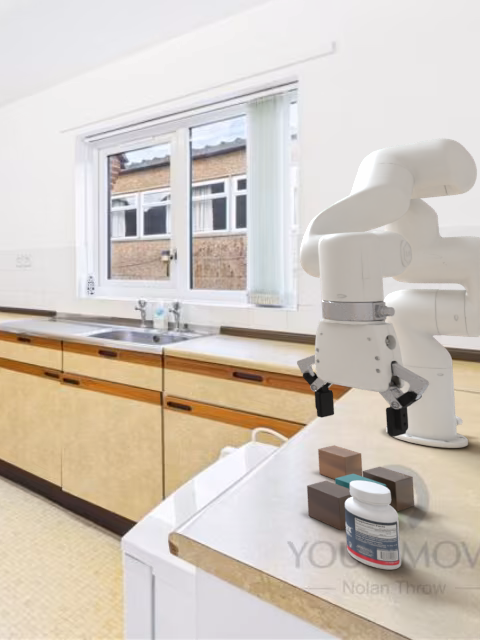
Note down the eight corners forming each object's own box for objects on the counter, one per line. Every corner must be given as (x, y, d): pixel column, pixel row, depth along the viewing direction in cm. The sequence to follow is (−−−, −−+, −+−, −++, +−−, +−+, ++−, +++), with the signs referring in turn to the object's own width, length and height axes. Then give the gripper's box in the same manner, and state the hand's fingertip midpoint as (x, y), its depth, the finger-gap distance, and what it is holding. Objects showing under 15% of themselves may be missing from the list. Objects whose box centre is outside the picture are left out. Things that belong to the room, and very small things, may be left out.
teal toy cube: (354, 501, 75) (353, 473, 75) (387, 514, 71) (386, 484, 71) (336, 507, 73) (334, 478, 73) (369, 520, 69) (367, 489, 69)
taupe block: (381, 494, 77) (379, 466, 77) (414, 506, 73) (413, 476, 73) (363, 499, 76) (362, 470, 76) (397, 511, 72) (395, 481, 72)
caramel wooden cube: (335, 469, 87) (334, 445, 87) (362, 479, 83) (361, 453, 83) (319, 473, 85) (318, 448, 86) (346, 483, 81) (344, 457, 81)
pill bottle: (350, 541, 64) (347, 474, 64) (403, 557, 60) (399, 486, 61) (343, 558, 60) (339, 486, 61) (398, 576, 57) (394, 500, 57)
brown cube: (327, 509, 73) (326, 480, 73) (360, 523, 68) (358, 492, 69) (308, 515, 71) (306, 485, 71) (340, 530, 67) (338, 498, 67)
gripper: (438, 315, 67) (446, 438, 66) (311, 307, 83) (316, 406, 83) (405, 319, 64) (414, 447, 64) (280, 310, 80) (286, 413, 80)
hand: (359, 424), depth 73 cm, fingers open, 9 cm apart
